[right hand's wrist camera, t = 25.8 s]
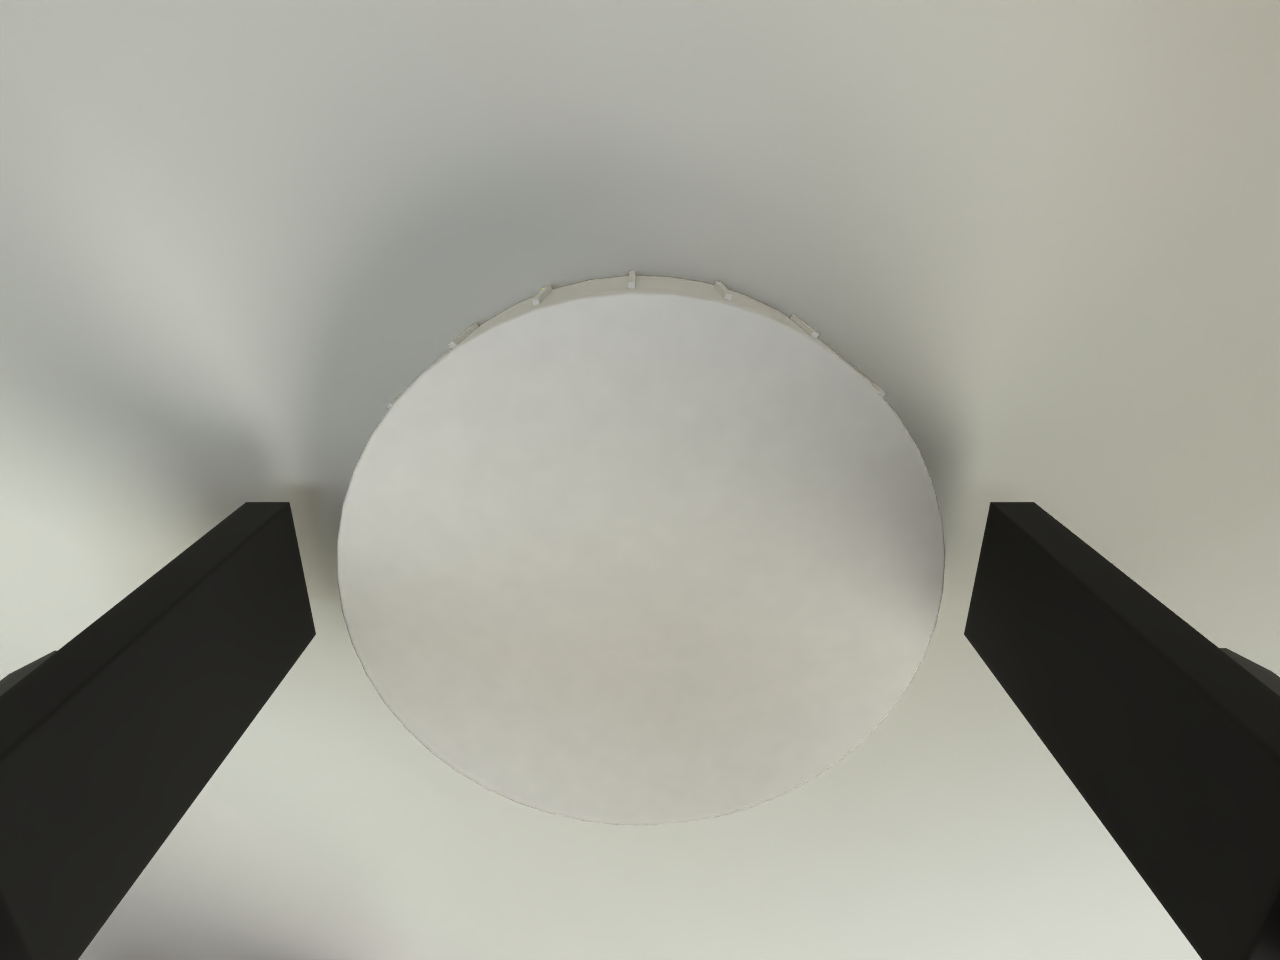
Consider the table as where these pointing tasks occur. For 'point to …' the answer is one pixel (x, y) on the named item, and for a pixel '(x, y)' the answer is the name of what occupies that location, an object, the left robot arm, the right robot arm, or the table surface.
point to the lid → (640, 553)
